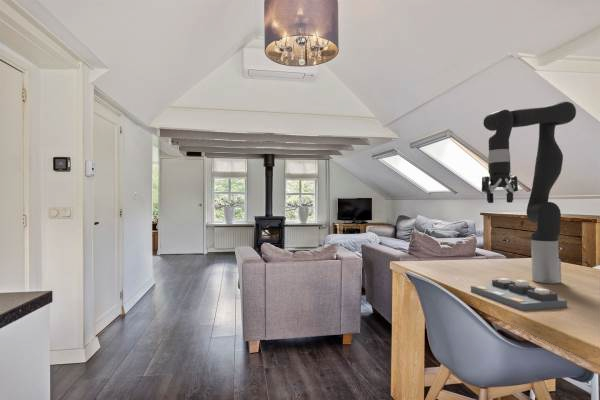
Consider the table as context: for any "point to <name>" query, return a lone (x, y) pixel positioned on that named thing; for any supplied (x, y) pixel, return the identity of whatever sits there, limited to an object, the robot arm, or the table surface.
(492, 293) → the switch panel
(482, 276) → the table surface
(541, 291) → the button
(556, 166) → the robot arm
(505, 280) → the button
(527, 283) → the button
